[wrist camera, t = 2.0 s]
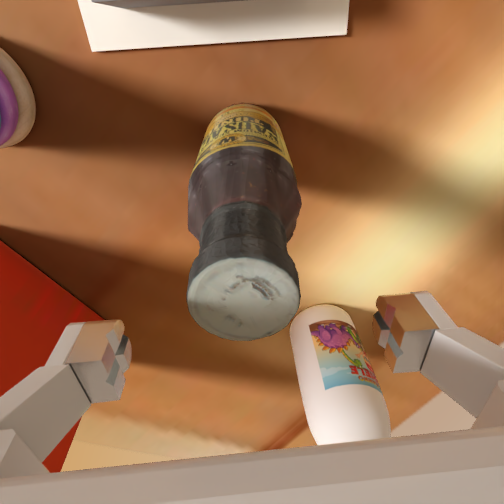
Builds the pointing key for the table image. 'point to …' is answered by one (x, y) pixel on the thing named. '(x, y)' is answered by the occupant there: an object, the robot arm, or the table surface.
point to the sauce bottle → (243, 227)
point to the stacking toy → (14, 102)
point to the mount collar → (207, 21)
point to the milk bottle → (336, 378)
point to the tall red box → (33, 328)
